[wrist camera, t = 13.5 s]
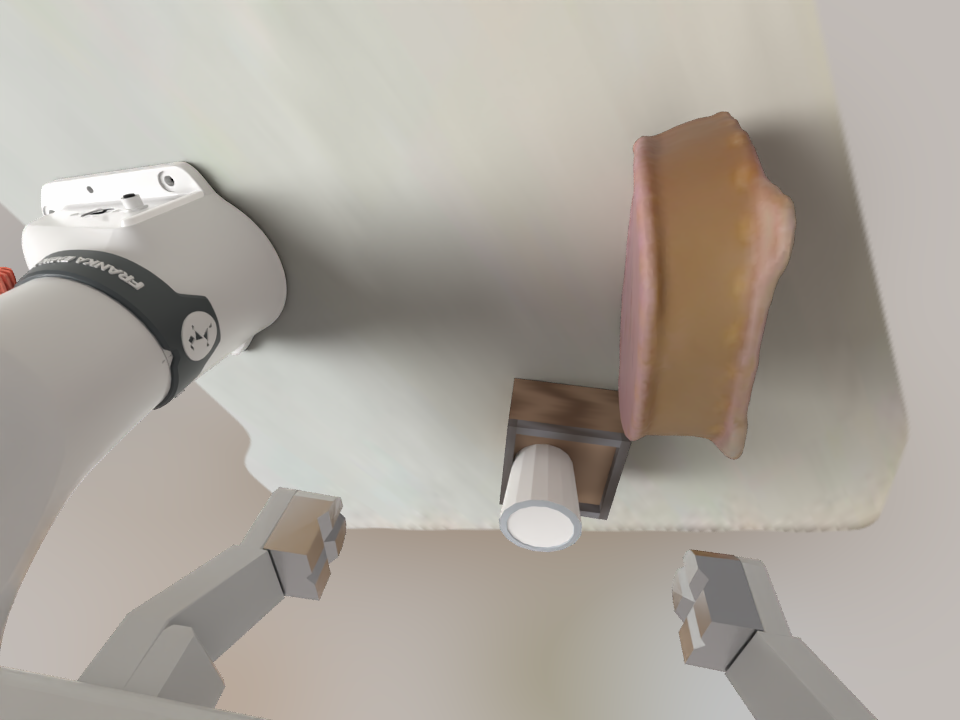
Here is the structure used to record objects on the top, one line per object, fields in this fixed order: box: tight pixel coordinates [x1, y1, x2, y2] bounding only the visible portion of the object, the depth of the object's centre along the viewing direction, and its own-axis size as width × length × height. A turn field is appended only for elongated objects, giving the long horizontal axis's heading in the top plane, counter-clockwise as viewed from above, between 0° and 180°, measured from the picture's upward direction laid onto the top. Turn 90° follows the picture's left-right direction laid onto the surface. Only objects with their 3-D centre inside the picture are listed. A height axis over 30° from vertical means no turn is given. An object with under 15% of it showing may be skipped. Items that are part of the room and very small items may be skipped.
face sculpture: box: [618, 112, 796, 459], centre depth 31 cm, size 20×7×17 cm, turn 9°
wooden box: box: [500, 378, 631, 520], centre depth 47 cm, size 11×11×7 cm
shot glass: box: [499, 444, 582, 552], centre depth 42 cm, size 7×7×7 cm
